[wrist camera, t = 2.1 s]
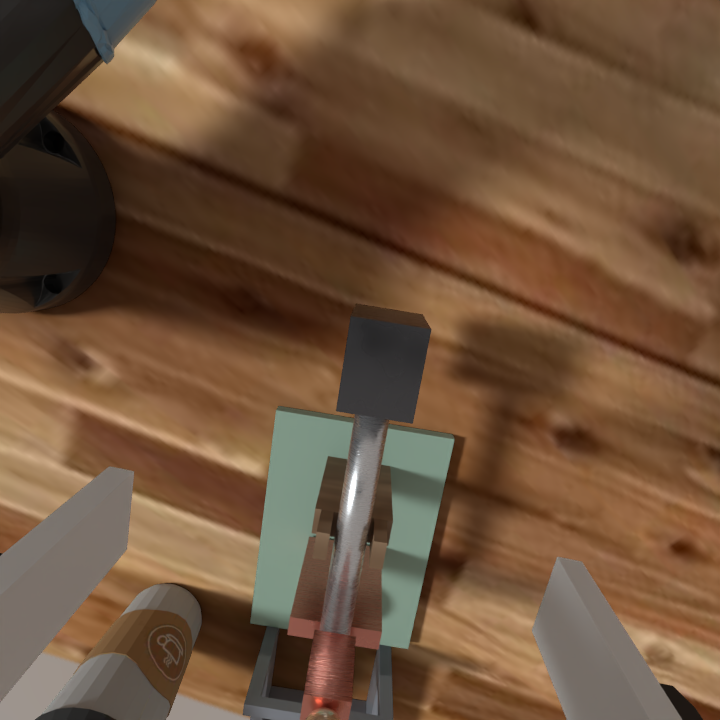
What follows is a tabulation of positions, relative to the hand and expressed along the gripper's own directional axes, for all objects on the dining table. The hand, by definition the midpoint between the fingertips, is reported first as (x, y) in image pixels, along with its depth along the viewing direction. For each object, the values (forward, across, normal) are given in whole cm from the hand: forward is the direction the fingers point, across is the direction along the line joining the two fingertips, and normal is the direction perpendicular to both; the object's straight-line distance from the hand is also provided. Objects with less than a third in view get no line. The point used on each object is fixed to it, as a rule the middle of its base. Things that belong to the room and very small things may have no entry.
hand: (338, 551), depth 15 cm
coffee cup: (+23, -13, -26) cm, 37 cm away
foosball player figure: (+23, +1, -8) cm, 25 cm away
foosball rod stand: (+22, +1, -5) cm, 22 cm away
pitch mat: (+23, +2, -14) cm, 27 cm away
